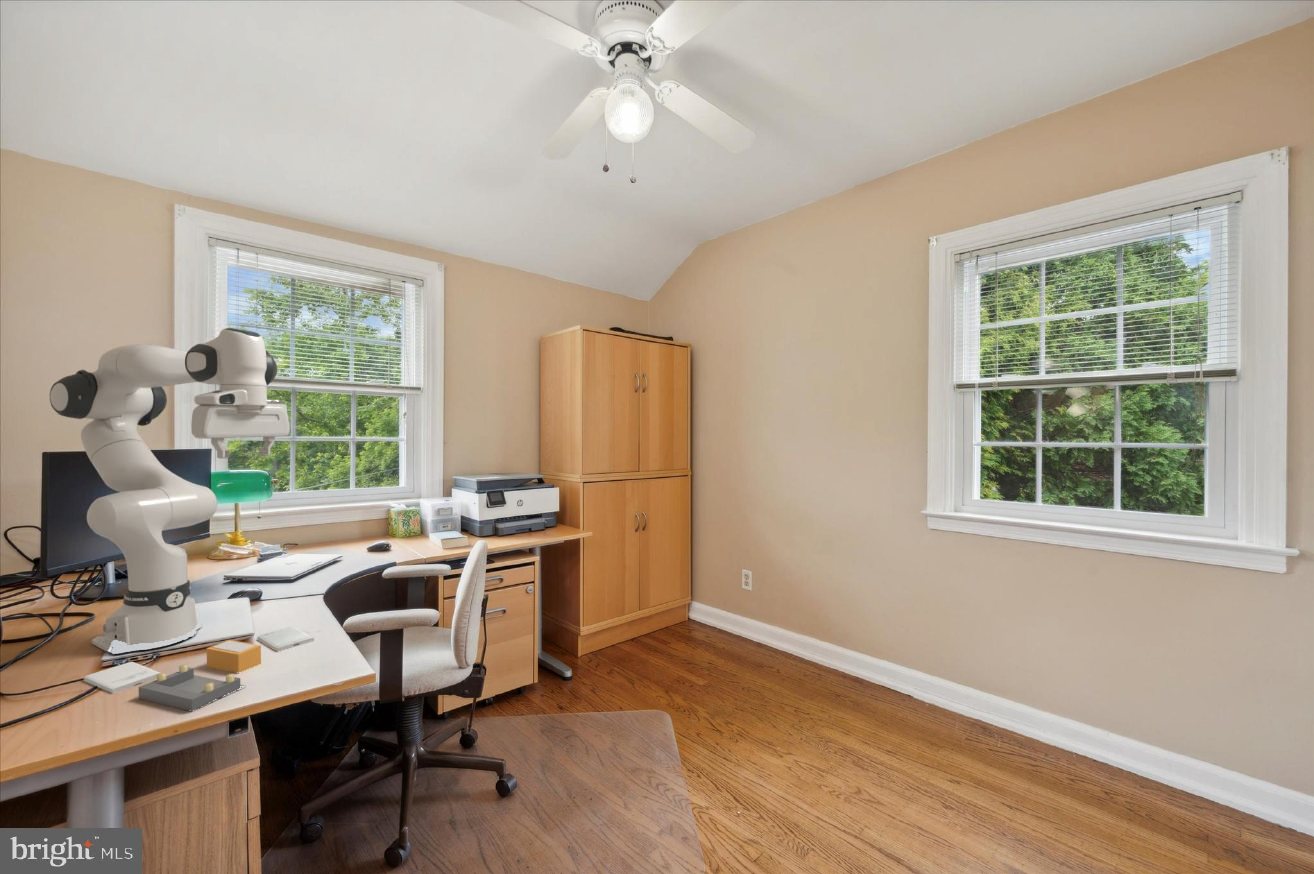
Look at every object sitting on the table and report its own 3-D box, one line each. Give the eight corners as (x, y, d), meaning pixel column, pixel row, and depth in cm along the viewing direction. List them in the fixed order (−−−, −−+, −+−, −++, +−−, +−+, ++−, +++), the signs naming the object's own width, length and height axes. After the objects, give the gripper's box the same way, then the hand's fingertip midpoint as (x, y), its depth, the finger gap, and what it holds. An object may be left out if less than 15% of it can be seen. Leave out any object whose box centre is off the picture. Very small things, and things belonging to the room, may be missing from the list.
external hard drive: (133, 667, 123) (162, 679, 118) (83, 683, 115) (112, 696, 110) (133, 660, 123) (162, 671, 118) (83, 676, 115) (112, 688, 110)
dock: (138, 698, 108) (138, 681, 108) (194, 676, 118) (193, 660, 118) (192, 711, 104) (192, 693, 104) (245, 687, 113) (245, 670, 113)
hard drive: (257, 635, 137) (277, 647, 130) (293, 625, 144) (314, 636, 137) (257, 642, 137) (277, 654, 130) (293, 632, 144) (314, 643, 137)
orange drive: (206, 667, 122) (206, 647, 122) (229, 658, 127) (229, 639, 127) (238, 674, 119) (238, 653, 119) (261, 664, 124) (260, 644, 124)
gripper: (276, 399, 136) (277, 454, 137) (185, 396, 117) (187, 459, 117) (295, 399, 134) (296, 454, 135) (206, 396, 115) (207, 460, 115)
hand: (244, 457), depth 126 cm, fingers open, 8 cm apart
